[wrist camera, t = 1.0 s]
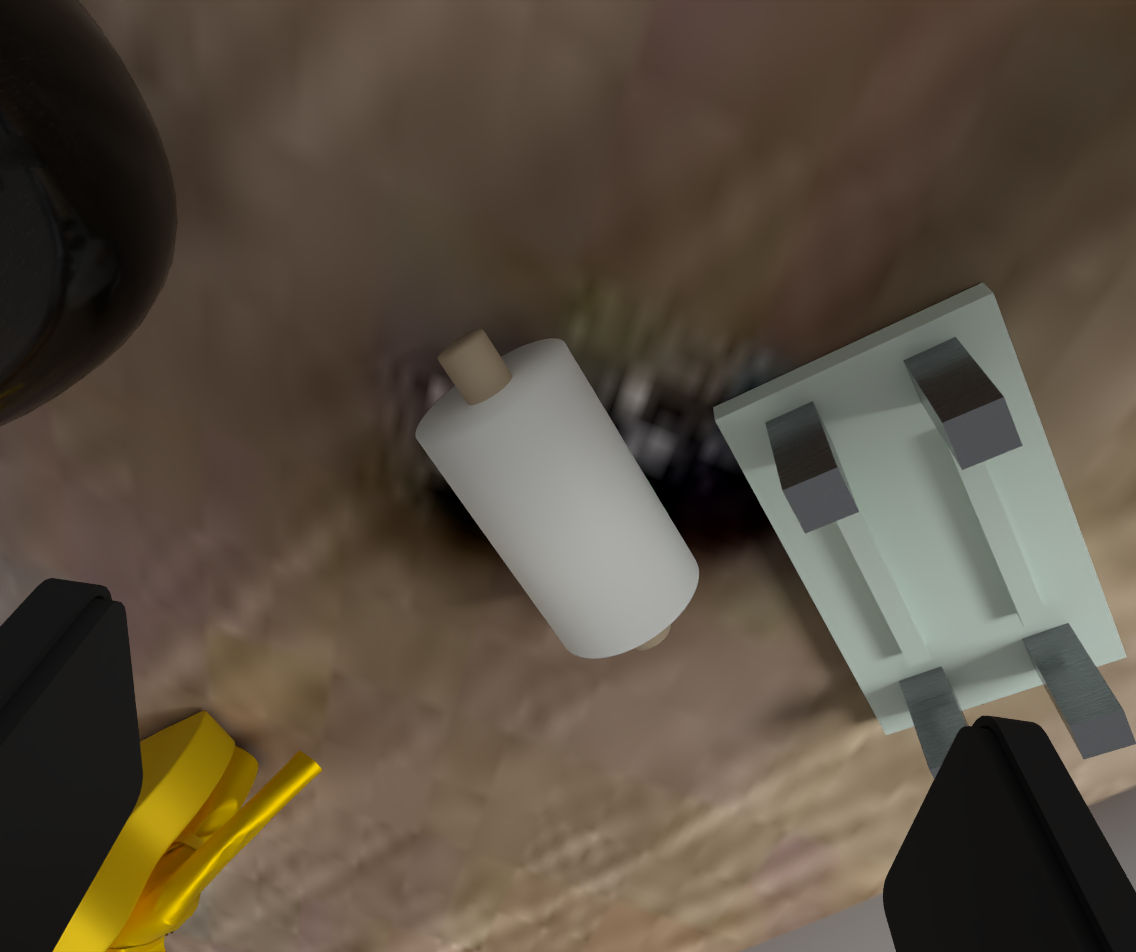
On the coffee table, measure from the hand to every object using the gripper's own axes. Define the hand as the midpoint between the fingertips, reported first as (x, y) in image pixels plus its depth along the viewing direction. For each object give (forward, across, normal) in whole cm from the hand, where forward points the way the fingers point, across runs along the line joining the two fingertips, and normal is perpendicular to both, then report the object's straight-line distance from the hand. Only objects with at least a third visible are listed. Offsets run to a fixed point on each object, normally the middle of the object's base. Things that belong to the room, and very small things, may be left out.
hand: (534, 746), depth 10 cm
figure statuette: (+28, +16, +32) cm, 46 cm away
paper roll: (+27, -1, +11) cm, 29 cm away
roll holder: (+26, -16, +11) cm, 33 cm away
